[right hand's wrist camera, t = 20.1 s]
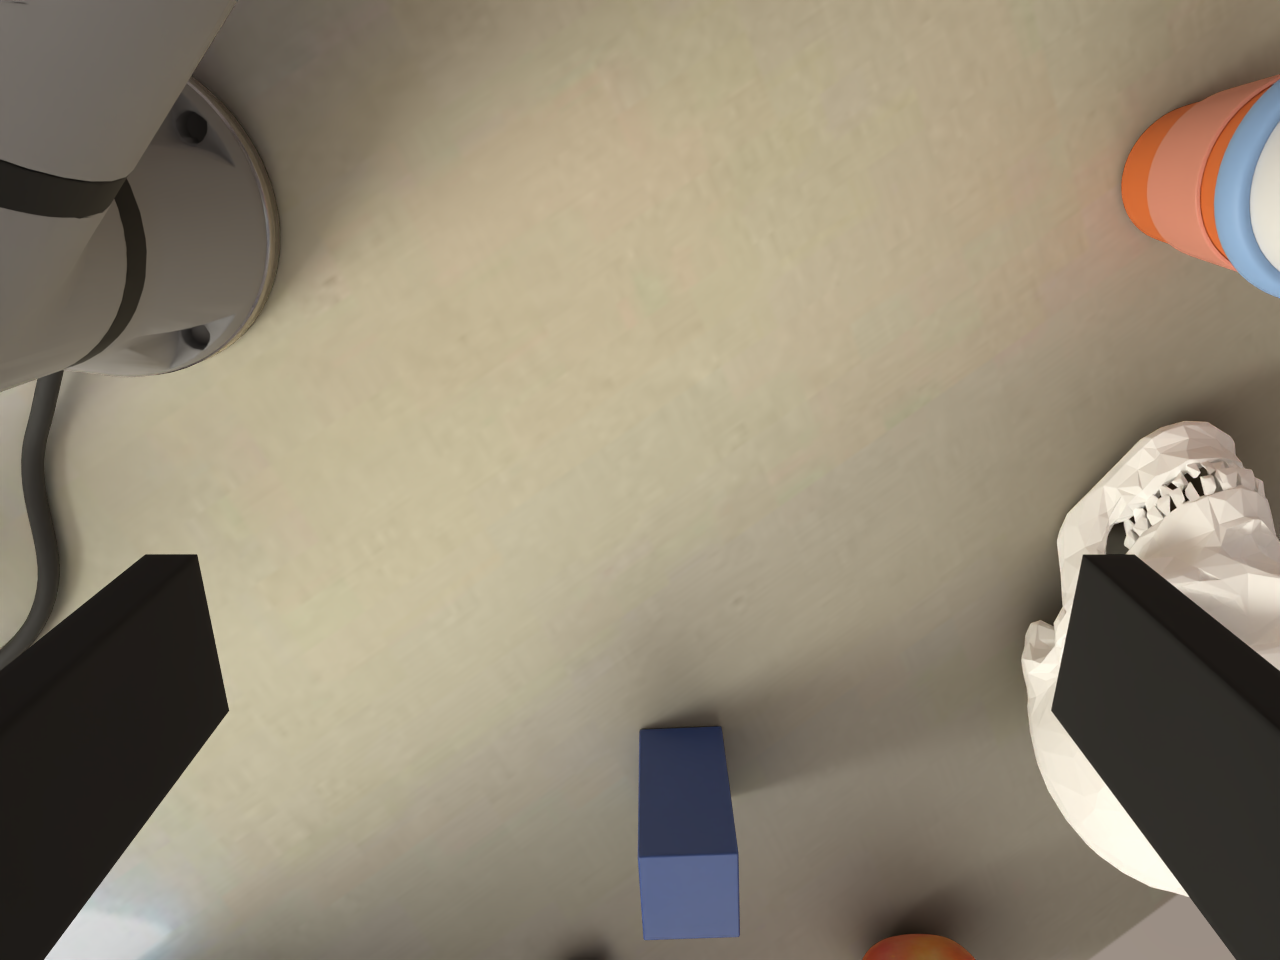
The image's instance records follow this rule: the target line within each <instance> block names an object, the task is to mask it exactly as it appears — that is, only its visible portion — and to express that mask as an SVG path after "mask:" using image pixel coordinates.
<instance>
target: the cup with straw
mask: <svg viewBox="0 0 1280 960" xmlns="http://www.w3.org/2000/svg"><path fill="white" fill-rule="evenodd" d="M1121 189H1122V199H1123V203H1124V207H1125V209H1126V212H1127V214H1128V216H1129V218H1130V219H1131V221H1132V222H1133V223H1134V224H1135V225H1136V227H1137V228H1138V229H1140V230H1141V231H1142V232H1143V233H1145V234H1146V235H1148V236H1150V237H1152V238H1154V239H1157V240H1160V241H1162V242H1165V243H1168V244H1170V245H1171V246H1172V247H1174V248H1175V249H1177V250H1179V251H1180V252H1183V253H1185V254H1188V255H1190V256H1193V257H1196V258H1199V259H1201V260H1204V261H1207V262H1210V263H1213V264H1216V265H1219V266H1222V267H1225V268H1228V269H1231V270H1234V271H1237V272H1239V273H1240V275H1242V276H1243V277H1244V278H1245V279H1246V280H1247V281H1248V282H1250V283H1251V284H1253V285H1254V286H1255V287H1257V288H1258V289H1260V290H1262V291H1264V292H1266V293H1268V294H1270V295H1273V296H1275V297H1278V298H1280V74H1279V75H1275V76H1272V77H1268V78H1265V79H1261V80H1258V81H1254V82H1251V83H1247V84H1244V85H1240V86H1237V87H1233V88H1230V89H1227V90H1224V91H1221V92H1218V93H1216V94H1214V95H1211V96H1209V97H1207V98H1205V99H1204V100H1202V101H1200V102H1196V103H1193V104H1189V105H1186V106H1183V107H1181V108H1178V109H1175V110H1173V111H1171V112H1169V113H1167V114H1166V115H1164V116H1162V117H1161V118H1160V119H1158V120H1157V121H1156V122H1154V123H1153V124H1152V125H1151V126H1150V127H1149V128H1148V129H1147V130H1146V131H1145V132H1144V133H1143V134H1142V135H1141V136H1140V138H1139V139H1138V141H1137V142H1136V143H1135V145H1134V147H1133V148H1132V150H1131V152H1130V154H1129V156H1128V159H1127V161H1126V164H1125V167H1124V171H1123V176H1122V188H1121Z"/></svg>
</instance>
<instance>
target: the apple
mask: <svg viewBox="0 0 1280 960" xmlns="http://www.w3.org/2000/svg"><path fill="white" fill-rule="evenodd" d="M862 960H975V958H974V957H973V956H972V955H971V954H970V953H969V952H968V951H967V950H966V949H965V948H963V947H962V946H961V945H960V944H958V943H956V942H955V941H953V940H951V939H948V938H946V937H942V936H938V935H931V934H904V935H898V936H893V937H889V938H886V939H883V940H881V941H879V942H878V943H876V944H875V945H873V946H872V947H871V948H870V949H869V950H868V951H867V953H866V954H865V956H864V957H863V959H862Z"/></svg>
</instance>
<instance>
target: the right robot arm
mask: <svg viewBox="0 0 1280 960" xmlns="http://www.w3.org/2000/svg"><path fill="white" fill-rule="evenodd" d="M237 1H238V0H0V392H2V391H5V390H8V389H10V388H13V387H16V386H19V385H22V384H24V383H27V382H30V381H33V380H36V379H37V384H36V388H35V393H34V398H33V403H32V407H31V412H30V416H29V420H28V424H27V428H26V431H25V436H24V441H23V447H22V459H21V470H22V484H23V492H24V498H25V503H26V508H27V513H28V517H29V522H30V526H31V530H32V534H33V539H34V544H35V549H36V555H37V564H38V582H37V590H36V595H35V600H34V603H33V606H32V608H31V611H30V613H29V615H28V618H27V619H26V621H25V623H24V624H23V626H22V627H21V628H20V630H19V631H18V632H17V633H16V635H15V636H14V637H13V638H12V639H11V640H10V641H9V642H8V643H7V644H6V645H5V646H4V647H3V648H2V649H1V650H0V960H44V959H45V957H46V956H47V955H48V953H49V952H50V951H51V949H52V948H53V947H54V945H55V944H56V943H57V941H58V940H59V939H60V937H61V936H62V934H63V933H64V932H65V930H66V929H67V928H68V926H69V925H70V924H71V922H72V921H73V920H74V918H75V917H76V916H77V914H78V913H79V912H80V910H81V909H82V908H83V906H84V905H85V904H86V902H87V901H88V900H89V898H90V897H91V895H92V894H93V893H94V891H95V890H96V889H97V887H98V886H99V885H100V883H101V882H102V881H103V879H104V878H105V877H106V875H107V874H108V873H109V871H110V870H111V869H112V867H113V866H114V865H115V863H116V862H117V861H118V859H119V858H120V857H121V855H122V854H123V852H124V851H125V850H126V848H127V847H128V846H129V844H130V843H131V842H132V840H133V839H134V838H135V836H136V835H137V834H138V832H139V831H140V830H141V828H142V827H143V826H144V824H145V823H146V822H147V820H148V819H149V818H150V816H151V815H152V813H153V812H154V811H155V809H156V808H157V807H158V805H159V804H160V803H161V801H162V800H163V799H164V797H165V796H166V795H167V793H168V792H169V791H170V789H171V788H172V787H173V785H174V784H175V783H176V781H177V780H178V779H179V777H180V776H181V774H182V773H183V772H184V770H185V769H186V768H187V766H188V765H189V764H190V762H191V761H192V760H193V758H194V757H195V756H196V754H197V753H198V752H199V750H200V749H201V748H202V746H203V745H204V744H205V742H206V741H207V740H208V738H209V737H210V736H211V734H212V733H213V731H214V730H215V729H216V727H217V726H218V725H219V723H220V722H221V721H222V719H223V718H224V717H225V715H226V714H227V713H228V711H229V708H228V703H227V698H226V693H225V688H224V684H223V679H222V674H221V669H220V664H219V659H218V654H217V649H216V644H215V639H214V635H213V630H212V625H211V620H210V615H209V610H208V605H207V600H206V595H205V591H204V586H203V581H202V576H201V571H200V566H199V561H198V556H197V555H144V556H143V557H142V558H140V559H139V560H138V561H137V562H135V563H134V564H133V565H132V566H130V567H129V568H128V569H127V570H126V571H124V572H123V573H122V574H121V575H119V576H118V577H117V578H116V579H114V580H113V581H112V582H111V583H109V584H108V585H107V586H106V587H104V588H103V589H102V590H101V591H99V592H98V593H97V594H96V595H94V596H93V597H92V598H91V599H89V600H88V601H87V602H86V603H84V604H83V605H82V606H81V607H79V608H78V609H77V610H76V611H74V612H73V613H72V614H71V615H69V616H68V617H67V618H66V619H64V620H63V621H62V622H61V623H59V624H58V625H57V626H56V627H54V628H53V629H52V630H51V631H49V632H48V633H47V634H46V635H44V636H43V637H42V638H41V639H39V640H38V641H37V642H36V643H34V644H33V645H32V646H31V647H29V646H30V645H31V644H32V643H33V642H34V641H35V639H36V638H37V636H38V635H39V634H40V632H41V631H42V629H43V627H44V626H45V624H46V622H47V620H48V618H49V616H50V614H51V612H52V609H53V606H54V603H55V600H56V596H57V591H58V585H59V557H58V549H57V543H56V538H55V533H54V528H53V524H52V519H51V515H50V510H49V505H48V500H47V495H46V488H45V478H44V455H45V447H46V442H47V437H48V433H49V430H50V426H51V423H52V419H53V415H54V411H55V407H56V402H57V398H58V393H59V389H60V385H61V380H62V376H63V372H64V370H67V371H75V372H84V373H92V374H100V375H109V376H119V377H140V376H149V375H159V374H165V373H170V372H174V371H178V370H181V369H184V368H187V367H189V366H192V365H194V364H197V363H199V362H201V361H203V360H206V359H208V358H210V357H212V356H214V355H216V354H218V353H220V352H221V351H223V350H225V349H226V348H227V347H229V346H230V345H232V344H233V343H234V342H235V341H237V340H238V339H239V338H240V337H241V336H242V335H243V334H244V333H245V332H246V331H247V330H248V329H249V327H250V326H251V325H252V324H253V323H254V321H255V320H256V318H257V317H258V315H259V314H260V312H261V311H262V309H263V307H264V305H265V303H266V301H267V299H268V297H269V294H270V292H271V289H272V287H273V283H274V280H275V276H276V272H277V267H278V261H279V251H280V225H279V218H278V210H277V205H276V201H275V196H274V192H273V189H272V186H271V183H270V180H269V177H268V174H267V172H266V169H265V167H264V165H263V162H262V160H261V158H260V156H259V154H258V152H257V150H256V148H255V146H254V145H253V143H252V141H251V140H250V138H249V137H248V135H247V134H246V132H245V130H244V129H243V128H242V126H241V125H240V124H239V122H238V121H237V120H236V118H235V117H234V116H233V114H232V113H231V112H230V111H229V110H228V109H227V108H226V107H225V105H224V104H223V103H222V102H221V101H220V100H219V99H218V98H217V97H216V96H215V95H214V94H213V93H212V92H211V91H209V90H208V89H207V88H206V87H205V86H203V85H202V84H201V83H200V82H199V81H197V80H196V79H195V78H194V77H192V76H191V75H192V74H193V72H194V71H195V69H196V67H197V66H198V64H199V62H200V61H201V59H202V58H203V56H204V54H205V53H206V51H207V49H208V48H209V46H210V45H211V43H212V41H213V40H214V38H215V36H216V35H217V33H218V32H219V30H220V28H221V27H222V25H223V23H224V22H225V20H226V18H227V17H228V15H229V14H230V12H231V10H232V9H233V7H234V5H235V4H236V2H237ZM28 647H29V648H28ZM27 648H28V649H27ZM1051 711H1052V713H1053V714H1054V715H1055V717H1056V718H1057V719H1058V721H1059V722H1060V723H1061V725H1062V726H1063V727H1064V729H1065V730H1066V731H1067V733H1068V734H1069V736H1070V737H1071V738H1072V740H1073V741H1074V742H1075V744H1076V745H1077V746H1078V748H1079V749H1080V750H1081V752H1082V753H1083V754H1084V756H1085V757H1086V758H1087V760H1088V761H1089V762H1090V764H1091V765H1092V766H1093V768H1094V769H1095V770H1096V772H1097V773H1098V774H1099V776H1100V777H1101V779H1102V780H1103V781H1104V783H1105V784H1106V785H1107V787H1108V788H1109V789H1110V791H1111V792H1112V793H1113V795H1114V796H1115V797H1116V799H1117V800H1118V801H1119V803H1120V804H1121V805H1122V807H1123V808H1124V809H1125V811H1126V812H1127V813H1128V815H1129V816H1130V818H1131V819H1132V820H1133V822H1134V823H1135V824H1136V826H1137V827H1138V828H1139V830H1140V831H1141V832H1142V834H1143V835H1144V836H1145V838H1146V839H1147V840H1148V842H1149V843H1150V844H1151V846H1152V847H1153V848H1154V850H1155V851H1156V852H1157V854H1158V855H1159V857H1160V858H1161V859H1162V861H1163V862H1164V863H1165V865H1166V866H1167V867H1168V869H1169V870H1170V871H1171V873H1172V874H1173V875H1174V877H1175V878H1176V879H1177V881H1178V882H1179V883H1180V885H1181V886H1182V887H1183V889H1184V890H1185V891H1186V893H1187V894H1188V896H1189V897H1190V898H1191V899H1192V901H1193V902H1194V904H1195V905H1196V906H1197V908H1198V909H1199V910H1200V912H1201V913H1202V914H1203V916H1204V917H1205V918H1206V920H1207V921H1208V922H1209V924H1210V925H1211V926H1212V928H1213V929H1214V930H1215V932H1216V933H1217V934H1218V936H1219V937H1220V939H1221V940H1222V941H1223V943H1224V944H1225V945H1226V947H1227V948H1228V949H1229V951H1230V952H1231V953H1232V955H1233V956H1234V957H1235V959H1236V960H1280V671H1279V670H1278V669H1277V668H1275V667H1274V666H1273V665H1272V664H1271V663H1269V662H1268V661H1267V660H1266V659H1264V658H1263V657H1262V656H1261V655H1259V654H1258V653H1257V652H1256V651H1254V650H1253V649H1252V648H1251V647H1249V646H1248V645H1247V644H1246V643H1244V642H1243V641H1242V640H1241V639H1239V638H1238V637H1237V636H1236V635H1234V634H1233V633H1232V632H1231V631H1229V630H1228V629H1227V628H1226V627H1224V626H1223V625H1222V624H1221V623H1219V622H1218V621H1217V620H1216V619H1214V618H1213V617H1212V616H1211V615H1209V614H1208V613H1207V612H1206V611H1204V610H1203V609H1202V608H1201V607H1199V606H1198V605H1197V604H1196V603H1194V602H1193V601H1192V600H1191V599H1189V598H1188V597H1187V596H1186V595H1184V594H1183V593H1182V592H1181V591H1179V590H1178V589H1177V588H1176V587H1174V586H1173V585H1172V584H1171V583H1169V582H1168V581H1167V580H1166V579H1164V578H1163V577H1162V576H1161V575H1159V574H1158V573H1157V572H1156V571H1154V570H1153V569H1152V568H1151V567H1150V566H1148V565H1147V564H1146V563H1145V562H1143V561H1142V560H1141V559H1140V558H1138V557H1137V556H1136V555H1083V556H1082V561H1081V566H1080V571H1079V576H1078V581H1077V586H1076V591H1075V595H1074V600H1073V605H1072V610H1071V615H1070V620H1069V625H1068V630H1067V635H1066V639H1065V644H1064V649H1063V654H1062V659H1061V664H1060V669H1059V674H1058V679H1057V684H1056V688H1055V693H1054V698H1053V703H1052V708H1051Z"/></svg>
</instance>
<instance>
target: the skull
mask: <svg viewBox="0 0 1280 960" xmlns="http://www.w3.org/2000/svg"><path fill="white" fill-rule="evenodd" d="M1202 467H1204V468H1205V469H1206V471H1207V476H1200V479H1201V483H1202V487H1203V491H1204V496H1199V495H1198V493H1197V491H1196V490H1195V488H1194V487H1193V485H1192V483H1191V482H1190V483H1188V482H1187V480H1186V478H1185V477H1184V475H1185V474H1187V473H1188V474H1189V475H1190V476H1191V477H1192V478H1197V477H1198V475H1199V474H1200V470H1199V468H1202ZM1170 483H1172V484H1174V485H1175V486H1176V487H1178V488H1176V489H1174V490H1171V489H1170V488H1168V487H1167V486H1168V485H1169V484H1170ZM1186 487H1187V488H1186ZM1184 488H1186V489H1185V495H1186V496H1187V498H1188V499H1189V501H1187V502H1185V499H1184V496H1183V493H1182V491H1181V490H1183V489H1184ZM1160 494H1161V496H1162V497H1161V498H1159V496H1160ZM1170 496H1171V498H1172V500H1173V502H1174V504H1175V505H1176V507H1177V508H1176V509H1174V510H1173V511H1172V512H1170ZM1158 498H1159V499H1158ZM1145 507H1146V508H1147V512H1148V513H1147V512H1146V511H1145V510H1144V508H1145ZM1132 516H1134V518H1135V522H1136V523H1135V524H1134V523H1133V522H1132V521H1131V520H1130V518H1131V517H1132ZM1148 519H1149V521H1150V522H1149V521H1148ZM1119 522H1124V528H1125V532H1126V535H1127V536H1126V538H1125V541H1124V546H1126V547H1127V548H1128V549H1129V550H1128V552H1127V553H1126V554H1125V555H1136V556H1137V557H1138V558H1140V559H1141V560H1142V561H1143V562H1145V563H1146V564H1147V565H1148V566H1150V567H1151V568H1152V569H1153V570H1154V571H1156V572H1157V573H1158V574H1159V575H1161V576H1162V577H1163V578H1164V579H1166V580H1167V581H1168V582H1169V583H1171V584H1172V585H1173V586H1174V587H1176V588H1177V589H1178V590H1179V591H1181V592H1182V593H1183V594H1184V595H1186V596H1187V597H1188V598H1189V599H1191V600H1192V601H1193V602H1194V603H1196V604H1197V605H1198V606H1199V607H1201V608H1202V609H1203V610H1204V611H1206V612H1207V613H1208V614H1209V615H1211V616H1212V617H1213V618H1214V619H1216V620H1217V621H1218V622H1219V623H1221V624H1222V625H1223V626H1224V627H1226V628H1227V629H1228V630H1229V631H1231V632H1232V633H1233V634H1234V635H1236V636H1237V637H1238V638H1239V639H1241V640H1242V641H1243V642H1244V643H1246V644H1247V645H1248V646H1249V647H1251V648H1252V649H1253V650H1254V651H1256V652H1257V653H1258V654H1259V655H1261V656H1262V657H1263V658H1264V659H1266V660H1267V661H1268V662H1269V663H1271V664H1272V665H1273V666H1274V667H1275V668H1277V669H1278V670H1279V671H1280V541H1279V539H1278V538H1277V536H1276V533H1275V528H1274V524H1273V519H1272V514H1271V510H1270V506H1269V503H1268V499H1266V497H1265V493H1264V485H1263V481H1262V480H1260V479H1258V478H1256V477H1254V474H1253V471H1252V469H1245V468H1244V466H1243V465H1242V462H1241V461H1240V460H1239V459H1238V457H1237V456H1236V453H1235V443H1234V441H1233V439H1232V438H1231V436H1229V435H1228V434H1226V433H1224V432H1223V431H1221V430H1220V429H1218V428H1216V427H1215V426H1213V425H1212V424H1210V423H1208V422H1201V421H1182V422H1179V423H1175V424H1171V425H1168V426H1164V427H1161V428H1159V429H1157V430H1155V431H1154V432H1152V433H1150V434H1148V435H1147V436H1145V437H1143V438H1142V439H1140V440H1139V441H1138V442H1137V443H1136V444H1135V445H1134V446H1133V447H1132V448H1131V449H1130V450H1129V451H1128V452H1127V453H1126V455H1125V456H1124V457H1123V458H1122V459H1121V460H1120V461H1119V462H1118V463H1117V464H1116V465H1115V466H1114V467H1113V468H1112V469H1111V470H1110V471H1109V472H1108V473H1107V474H1106V475H1105V476H1104V477H1103V478H1102V479H1101V480H1100V481H1099V482H1098V483H1097V484H1096V485H1095V486H1094V487H1093V488H1092V489H1091V490H1090V491H1089V492H1088V493H1087V494H1086V495H1085V496H1084V497H1083V498H1082V499H1081V500H1080V501H1079V502H1078V503H1077V504H1076V505H1075V506H1074V507H1073V508H1072V509H1071V510H1070V511H1069V512H1068V513H1067V515H1066V518H1065V520H1064V522H1063V524H1062V526H1061V528H1060V531H1059V535H1058V539H1057V547H1058V556H1059V564H1060V573H1061V588H1062V604H1063V607H1062V609H1061V611H1060V613H1059V614H1058V616H1057V618H1056V620H1055V622H1054V626H1052V625H1050V624H1048V623H1046V622H1044V621H1041V620H1039V621H1036V622H1033V623H1031V624H1030V626H1029V628H1028V630H1027V632H1026V634H1025V647H1024V650H1023V653H1022V658H1021V663H1022V669H1023V675H1024V679H1025V683H1026V687H1027V695H1028V704H1027V709H1028V718H1029V727H1030V734H1031V738H1032V743H1033V747H1034V751H1035V756H1036V760H1037V764H1038V766H1039V769H1040V771H1041V774H1042V776H1043V779H1044V781H1045V784H1046V786H1047V789H1048V791H1049V793H1050V794H1051V796H1052V798H1053V799H1054V801H1055V803H1056V804H1057V806H1058V808H1059V809H1060V811H1061V812H1062V814H1063V816H1064V817H1065V819H1066V820H1067V821H1068V823H1069V824H1070V825H1071V826H1072V827H1073V829H1074V830H1075V831H1076V832H1077V833H1078V834H1079V836H1080V837H1081V838H1082V839H1083V840H1084V842H1085V843H1086V844H1087V845H1088V846H1089V847H1090V848H1091V849H1092V850H1094V851H1095V852H1096V853H1097V854H1098V855H1099V856H1100V857H1102V858H1103V859H1104V860H1106V861H1107V862H1109V863H1110V864H1111V865H1113V866H1114V867H1116V868H1117V869H1119V870H1120V871H1121V872H1123V873H1124V874H1126V875H1128V876H1130V877H1132V878H1134V879H1136V880H1138V881H1140V882H1142V883H1144V884H1146V885H1148V886H1150V887H1153V888H1157V889H1161V890H1166V891H1170V892H1174V893H1177V894H1180V895H1184V896H1187V897H1189V896H1188V894H1187V893H1186V891H1185V890H1184V889H1183V887H1182V886H1181V885H1180V883H1179V882H1178V881H1177V879H1176V878H1175V877H1174V875H1173V874H1172V873H1171V871H1170V870H1169V869H1168V867H1167V866H1166V865H1165V863H1164V862H1163V861H1162V859H1161V858H1160V857H1159V855H1158V854H1157V852H1156V851H1155V850H1154V848H1153V847H1152V846H1151V844H1150V843H1149V842H1148V840H1147V839H1146V838H1145V836H1144V835H1143V834H1142V832H1141V831H1140V830H1139V828H1138V827H1137V826H1136V824H1135V823H1134V822H1133V820H1132V819H1131V818H1130V816H1129V815H1128V813H1127V812H1126V811H1125V809H1124V808H1123V807H1122V805H1121V804H1120V803H1119V801H1118V800H1117V799H1116V797H1115V796H1114V795H1113V793H1112V792H1111V791H1110V789H1109V788H1108V787H1107V785H1106V784H1105V783H1104V781H1103V780H1102V779H1101V777H1100V776H1099V774H1098V773H1097V772H1096V770H1095V769H1094V768H1093V766H1092V765H1091V764H1090V762H1089V761H1088V760H1087V758H1086V757H1085V756H1084V754H1083V753H1082V752H1081V750H1080V749H1079V748H1078V746H1077V745H1076V744H1075V742H1074V741H1073V740H1072V738H1071V737H1070V736H1069V734H1068V733H1067V731H1066V730H1065V729H1064V727H1063V726H1062V725H1061V723H1060V722H1059V721H1058V719H1057V718H1056V717H1055V715H1054V714H1053V713H1052V711H1051V708H1052V703H1053V698H1054V693H1055V688H1056V684H1057V679H1058V674H1059V669H1060V664H1061V659H1062V654H1063V649H1064V644H1065V639H1066V635H1067V630H1068V625H1069V620H1070V615H1071V610H1072V605H1073V600H1074V595H1075V591H1076V586H1077V581H1078V576H1079V571H1080V566H1081V561H1082V556H1083V555H1106V546H1107V537H1108V534H1109V532H1110V530H1111V528H1112V527H1113V525H1114V524H1116V523H1119ZM1151 525H1152V527H1151ZM1134 532H1136V533H1137V534H1138V535H1139V536H1140V537H1139V536H1138V535H1137V534H1136V533H1134Z"/></svg>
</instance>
